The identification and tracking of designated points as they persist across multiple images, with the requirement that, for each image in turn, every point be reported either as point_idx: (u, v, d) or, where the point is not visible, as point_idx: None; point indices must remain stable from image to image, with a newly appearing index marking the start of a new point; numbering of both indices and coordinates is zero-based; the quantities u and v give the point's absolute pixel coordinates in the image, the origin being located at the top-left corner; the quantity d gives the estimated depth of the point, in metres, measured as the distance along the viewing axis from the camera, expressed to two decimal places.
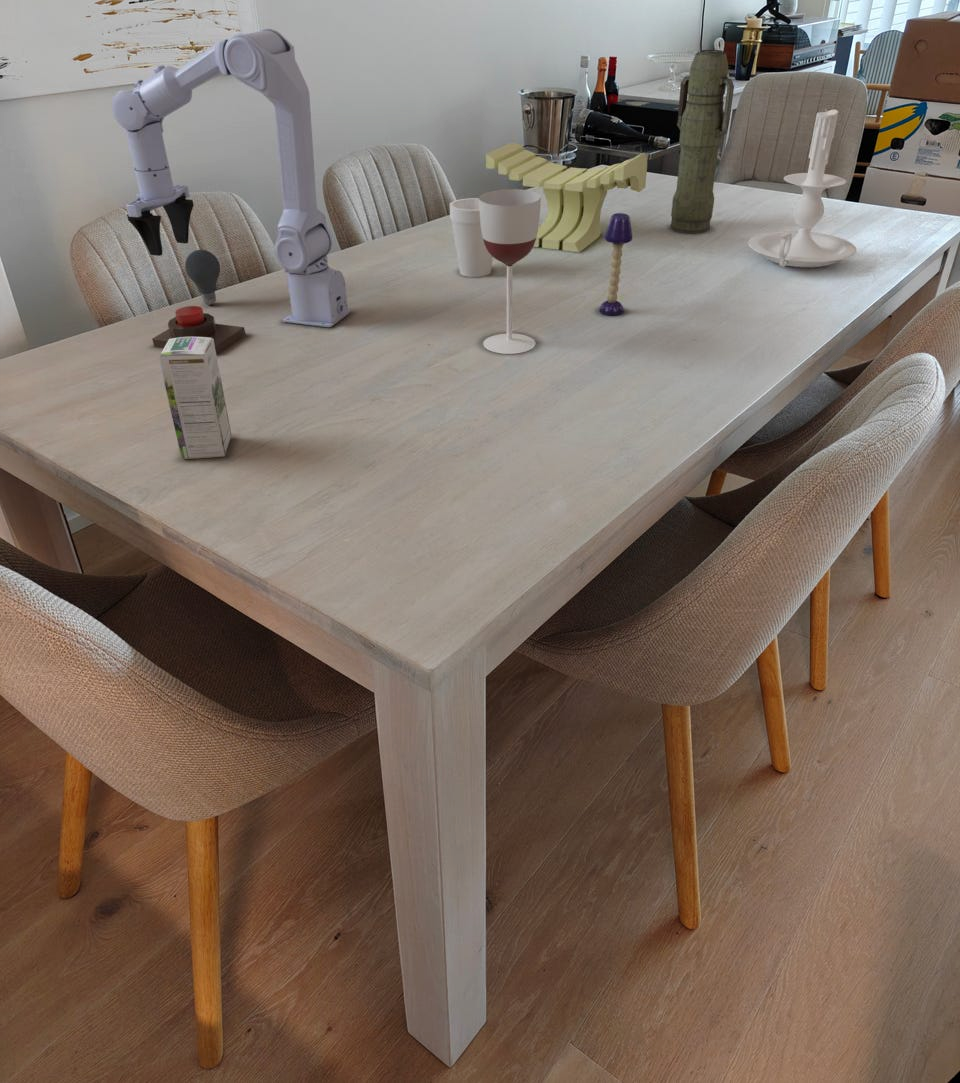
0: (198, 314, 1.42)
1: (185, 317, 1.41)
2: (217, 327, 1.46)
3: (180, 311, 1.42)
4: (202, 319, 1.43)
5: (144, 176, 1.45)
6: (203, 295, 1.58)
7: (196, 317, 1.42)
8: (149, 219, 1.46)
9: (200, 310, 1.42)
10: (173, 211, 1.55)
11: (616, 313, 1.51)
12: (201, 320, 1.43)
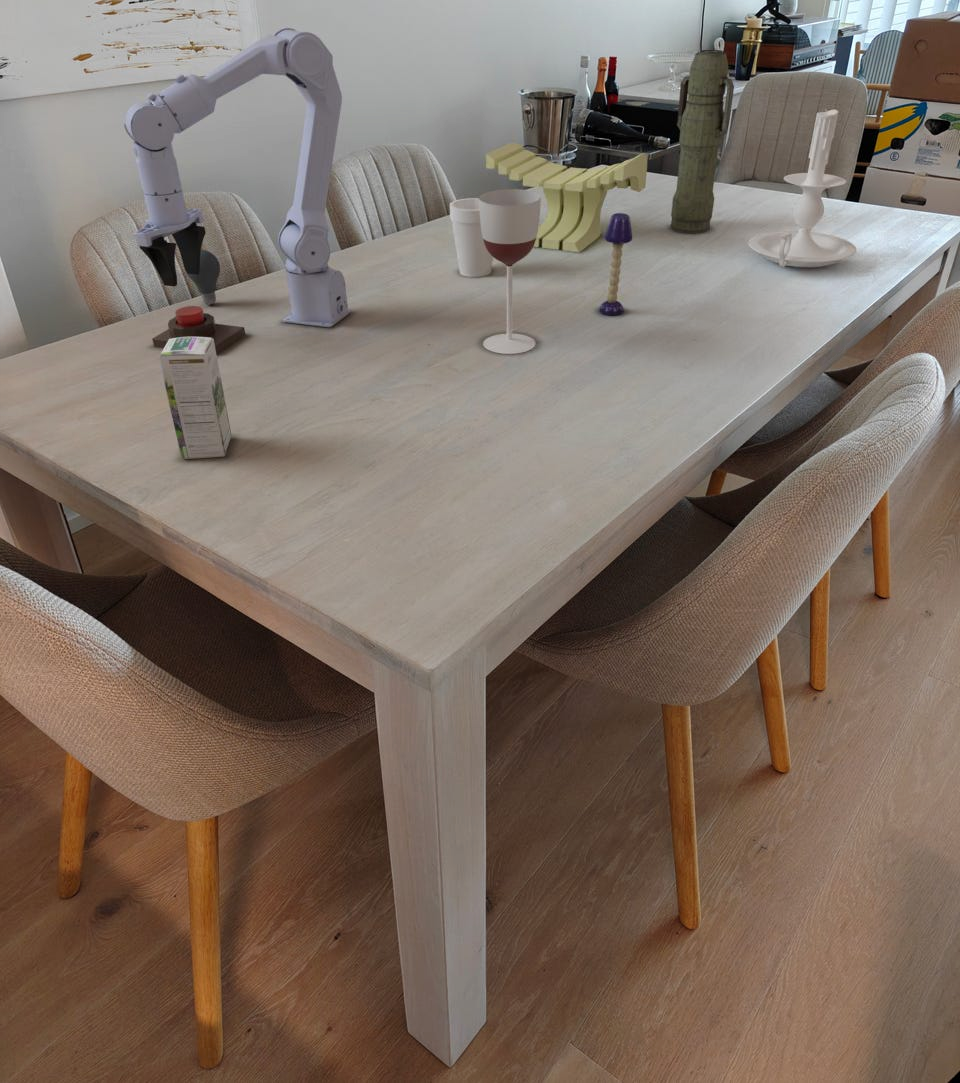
0: (198, 314, 1.42)
1: (185, 317, 1.41)
2: (217, 327, 1.46)
3: (180, 311, 1.42)
4: (202, 319, 1.43)
5: (154, 201, 1.30)
6: (203, 295, 1.58)
7: (196, 317, 1.42)
8: (163, 247, 1.31)
9: (200, 310, 1.42)
10: (183, 239, 1.39)
11: (616, 313, 1.51)
12: (201, 320, 1.43)
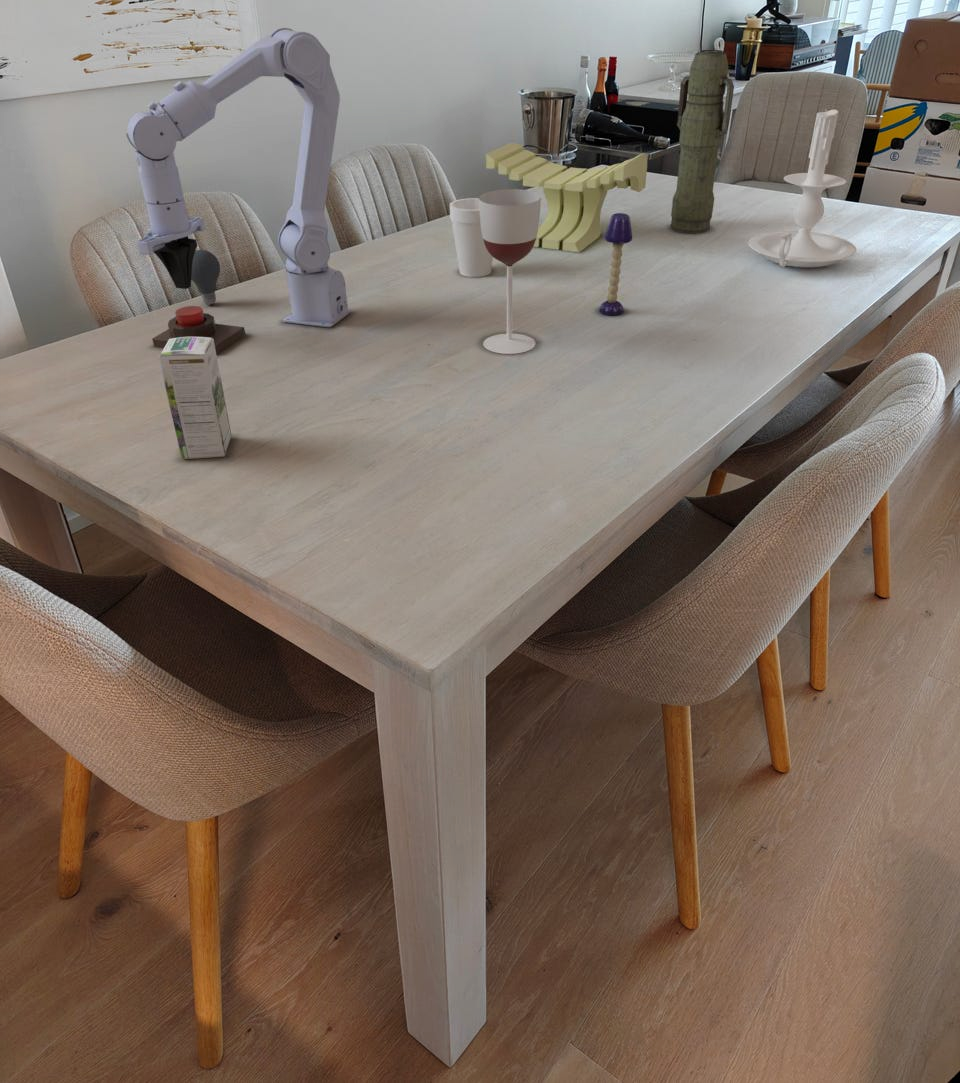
0: (198, 314, 1.42)
1: (185, 317, 1.41)
2: (217, 327, 1.46)
3: (180, 311, 1.42)
4: (202, 319, 1.43)
5: (156, 209, 1.31)
6: (203, 295, 1.58)
7: (196, 317, 1.42)
8: (176, 250, 1.34)
9: (200, 310, 1.42)
10: None
11: (616, 313, 1.51)
12: (201, 320, 1.43)
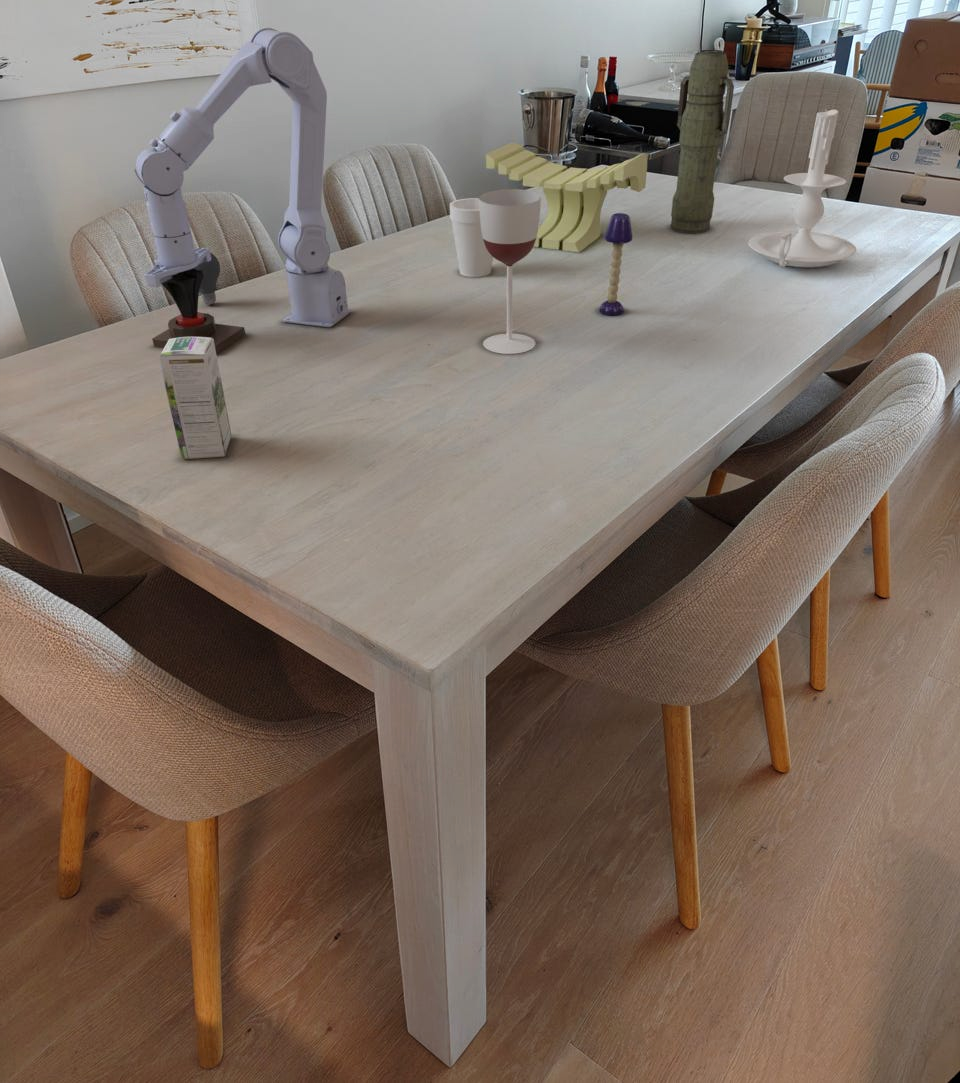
0: (200, 320, 1.42)
1: (187, 323, 1.42)
2: (217, 327, 1.46)
3: (181, 317, 1.43)
4: None
5: (164, 243, 1.34)
6: (203, 295, 1.58)
7: (197, 323, 1.42)
8: (183, 282, 1.37)
9: (201, 316, 1.43)
10: None
11: (616, 313, 1.51)
12: None
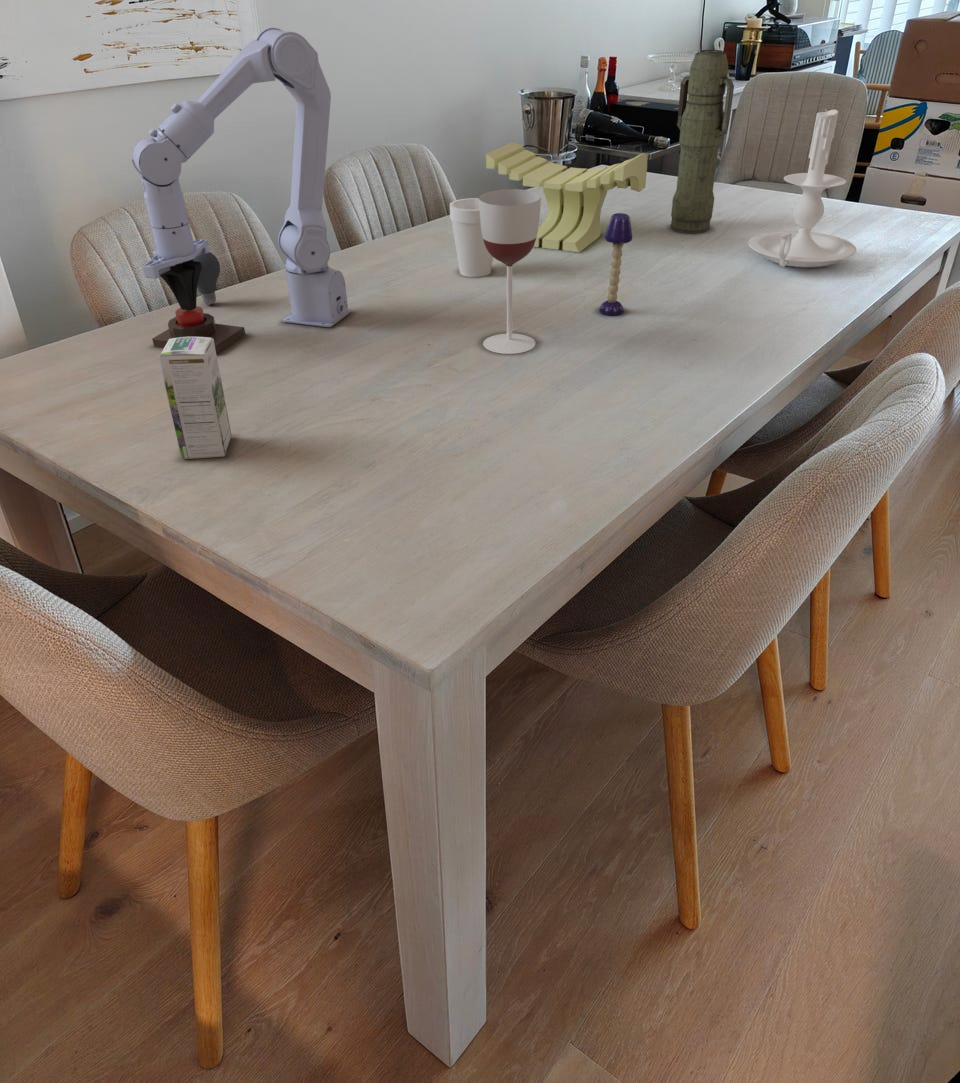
0: (198, 314, 1.42)
1: (185, 317, 1.41)
2: (217, 327, 1.46)
3: (180, 311, 1.42)
4: (202, 319, 1.43)
5: (162, 234, 1.33)
6: (203, 295, 1.58)
7: (196, 317, 1.42)
8: (181, 273, 1.36)
9: (200, 310, 1.42)
10: None
11: (616, 313, 1.51)
12: (201, 320, 1.43)
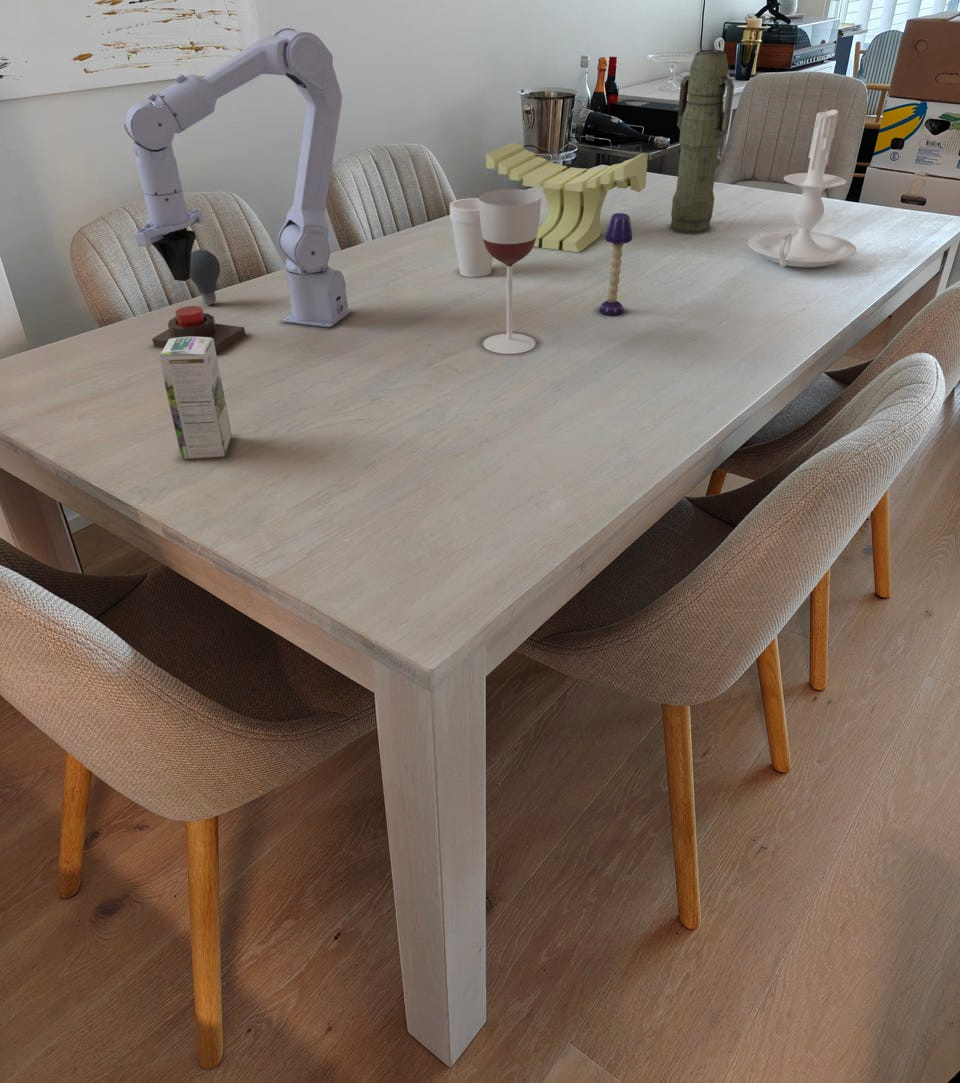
0: (198, 314, 1.42)
1: (185, 317, 1.41)
2: (217, 327, 1.46)
3: (180, 311, 1.42)
4: (202, 319, 1.43)
5: (154, 201, 1.30)
6: (203, 295, 1.58)
7: (196, 317, 1.42)
8: (174, 242, 1.33)
9: (200, 310, 1.42)
10: None
11: (616, 313, 1.51)
12: (201, 320, 1.43)
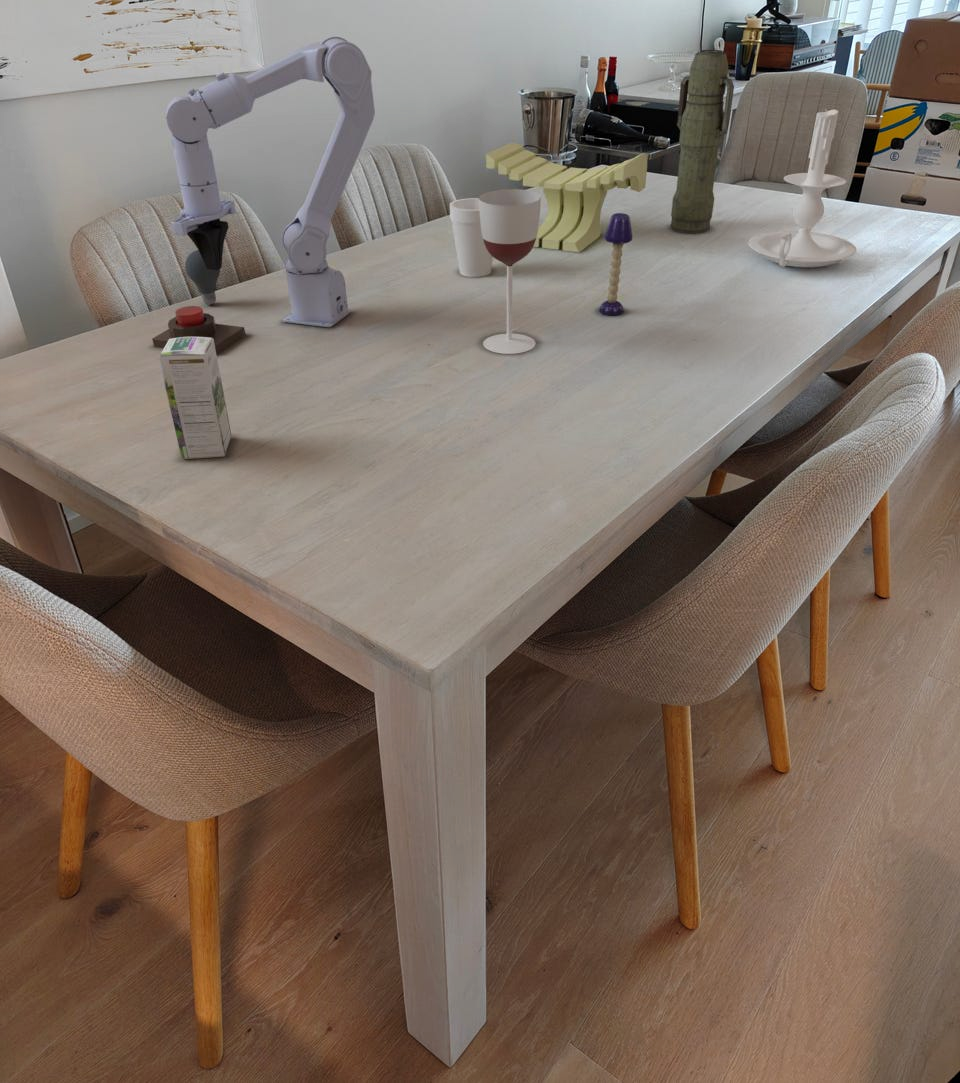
0: (198, 314, 1.42)
1: (185, 317, 1.41)
2: (217, 327, 1.46)
3: (180, 311, 1.42)
4: (202, 319, 1.43)
5: (191, 191, 1.34)
6: (203, 295, 1.58)
7: (196, 317, 1.42)
8: (208, 232, 1.38)
9: (200, 310, 1.42)
10: None
11: (616, 313, 1.51)
12: (201, 320, 1.43)
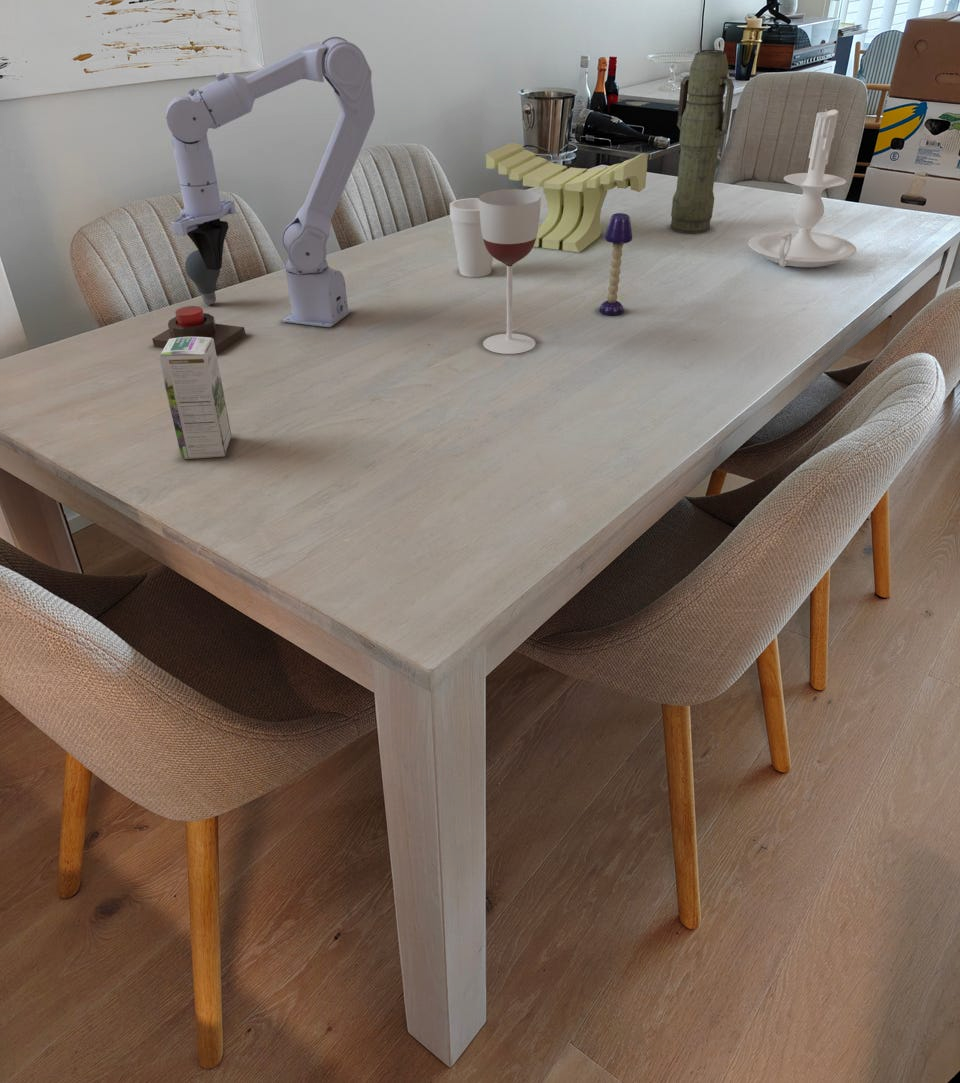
0: (198, 314, 1.42)
1: (185, 317, 1.41)
2: (217, 327, 1.46)
3: (180, 311, 1.42)
4: (202, 319, 1.43)
5: (191, 191, 1.34)
6: (203, 295, 1.58)
7: (196, 317, 1.42)
8: (208, 232, 1.38)
9: (200, 310, 1.42)
10: None
11: (616, 313, 1.51)
12: (201, 320, 1.43)
